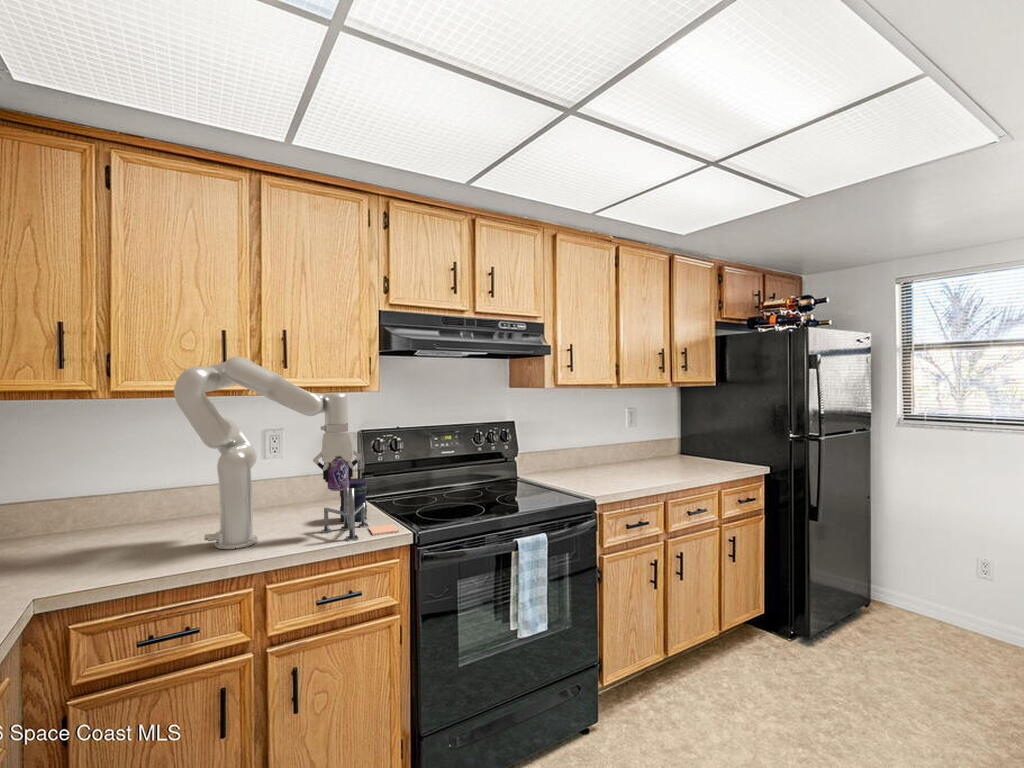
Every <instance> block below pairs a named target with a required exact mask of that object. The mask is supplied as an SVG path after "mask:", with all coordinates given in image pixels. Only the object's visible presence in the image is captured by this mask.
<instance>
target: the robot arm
mask: <svg viewBox="0 0 1024 768" xmlns="http://www.w3.org/2000/svg"><path fill="white" fill-rule="evenodd" d="M236 385H238V386H241V387H243V388H244V389H247V390H250V391H252V392H254V393H256V394H257V395H261V396H262V397H265V398H267V399H269V400H270V401H273V402H276V403H278V404H279V405H281V406H284V407H285V408H288V409H290V410H292V411H294V412H297V413H299V414H301V415H304V416H305V417H306V416H307V417H314V416H317V415H318V414H324V425H321V426H320V431H324V433H323V434H322V438H321V439H322V441H321V451H320V452H319V453H318V454H317V455H316V456H315V457H314V458H312V462H313V463H314V464H315V465H316V466H317V467H318V468H320V469H321V470H322V477H323V478H322V479H323V480H324V481H325V483H328V470H327V467H328V463H331V462H332V461H333V460H334V459H335V458H336V457H335V456H343V457H342V458H343V459H344V460H345V461H346V462H348V465H349V480H351V479H352V478H353V476H354V474H353V473H354V472H353V470H354V469H353V468H354V467H355V466H356V464H358V462H359V461H360V460H361V458H362V455H361V454H360V453H358V452H357V451H356V450H355V449H354V445H353V436H352V432H351V431H349V411H348V410H349V409H348V408H349V407H348V395H347V393H345V392H328V393H319V392H310V391H308V390H306V389H303V388H302V387H299V386H298V385H295V384H293V383H291V382H290V381H288V380H287V379H285V378H284V377H283V376H281V374H278V373H276V372H274V371H272V370H270V369H268V368H265V367H263V366H262V365H258V364H257V363H255V362H253V361H252V360H251V359H249V358H247V357H244V356H231V357H230V358H228V359H226V360H225V361H224V362H220V363H216V364H215V363H214V364H211V365H207V366H200V365H196V366H190V367H188V368H186V369H185V370H184V371H182V372H181V373H180V374H179V376H178V377H177V379H176V381H175V384H174V388H173V395H174V399H175V402H176V404H177V407H178V408H179V409H180V411H181V412H182V413H183V415H184V416H185V417H186V418H185V419H187V421H188V422H189V424H190V425H191V427H192V428H193V430H194V431H195V432H196V434H197V435H198V437H199V438H200V440H201V442H202V443H203V444H204V446H205V447H208V448H210V449H211V450H212V449H214V450H215V449H216V450H218V452H219V453H220V456H219V458H218V460H217V465H216V466H217V467H216V469H217V470H216V471H217V477H218V478H217V479H218V490H219V491H218V493H219V496H218V497H219V531H218V532H215V533H207V534H206V533H205V534H204V541H208V542H213V541H215V542H214V547H215V548H216V549H218V550H219V549H220V550H234V549H235V548H236V549H241V548H246V547H250V546H252V545H254V544H256V543H258V541H259V537H258V536H257V534H256V535H255V534H254V532H253V530H254V529H253V526H254V525H253V523H254V522H253V521H254V520H253V516H254V515H253V483H252V480H253V479H252V473H251V472H252V471H251V469H252V468H253V467H254V466H255V464H256V462H257V453H256V452H257V451H256V450H255V449H254V447H253V446H252V444H251V442H250V441H249V440H248V438H247V436H246V434H244V432H243V430H241V428H240V427H239V426H238V424H237V423H236V422H235V421H234V420H232V419H230V418H227V417H222V415H221V414H220V412H219V411H218V410H217V408H216V406H215V405H214V403H213V402H212V401H210V399H209V398H208V396H207V394H206V393H209V392H213V391H214V392H215V391H217V390H221V389H224V388H229V387H232V386H236ZM354 456H355V458H354ZM319 459H321V460H322V462H323V463H321V462H320V461H319ZM236 549H235V550H236Z"/></svg>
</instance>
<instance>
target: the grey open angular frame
mask: <svg viewBox="0 0 1024 768" xmlns="http://www.w3.org/2000/svg"><path fill="white" fill-rule="evenodd" d="M360 510H361V522H360V523H358V527H359V526H360V527H362V528H365V527H364V526H368V527H369V524H368V522H366V520H365V503H361V505H360V506H358V507H357V508H356V509H355V506H354V488H349V487H348V488H347V489H345V490H344V512H343V511H340V509H339V510H338V509H333V508H330V507H324V508H323V521H324V522H323V524H324V525H323V526H324V527H323V529H321V534H322V533H323V534H328V532H331V533H332V529H331V528H329V513H333V514H337V515H344V523H343V526H340V529H341V531H342V530H346V531H348V536H345V539H347V540H346V542H350V541H349V540H353V541H357V540H356V539H358V540H359V536H358V535H356V534H355V533H356V529H355V527H356V525H355V524H356V523H355V514H356V513H357V512H358V511H360ZM360 527H359V528H360Z"/></svg>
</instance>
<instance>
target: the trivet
mask: <svg viewBox="0 0 1024 768" xmlns="http://www.w3.org/2000/svg"><path fill="white" fill-rule="evenodd" d="M368 528H369V529H368ZM367 529H368V531H369V530H370V531H371V532H370V531H369V532H370V534H371V533H372V534H371V535H372V536H379V535H378V534H381V535H385V534H384V533H388V534H392V533H391V532H396V533H400V530H399V529H398V528H397V526H395V524H394V523H390V524H381V525H375V526H374V525H373V526H368V527H367Z"/></svg>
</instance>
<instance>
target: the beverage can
mask: <svg viewBox="0 0 1024 768" xmlns="http://www.w3.org/2000/svg"><path fill="white" fill-rule="evenodd" d="M335 457H336V458H335V459H334V460H333V461H332V462H331V463H328V467H327V470H328V482H327V489H328V490H330V491H333V492H340V491H342V490H345V489H347V488H348V487H349V465H348V462H346V461H345V460H344V459H343V458H342V457H343V456H335Z"/></svg>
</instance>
